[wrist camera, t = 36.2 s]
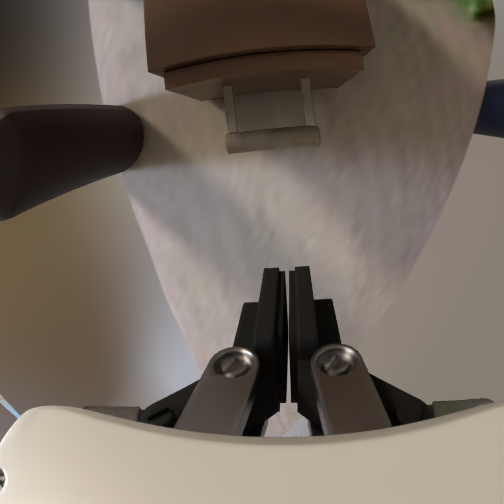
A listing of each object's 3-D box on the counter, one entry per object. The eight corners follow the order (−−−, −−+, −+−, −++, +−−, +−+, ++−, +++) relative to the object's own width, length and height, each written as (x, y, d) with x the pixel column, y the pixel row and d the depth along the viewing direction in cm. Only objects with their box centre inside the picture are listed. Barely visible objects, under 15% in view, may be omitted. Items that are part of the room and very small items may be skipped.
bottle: (111, 185, 26) (-56, 279, 8) (80, 136, 24) (-90, 184, 6) (158, 144, 24) (-43, 204, 6) (123, 92, 22) (-70, 91, 4)
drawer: (343, 142, 21) (372, 148, 14) (207, 153, 23) (175, 165, 16) (313, -36, 14) (321, -83, 7) (187, -21, 16) (157, -61, 9)
